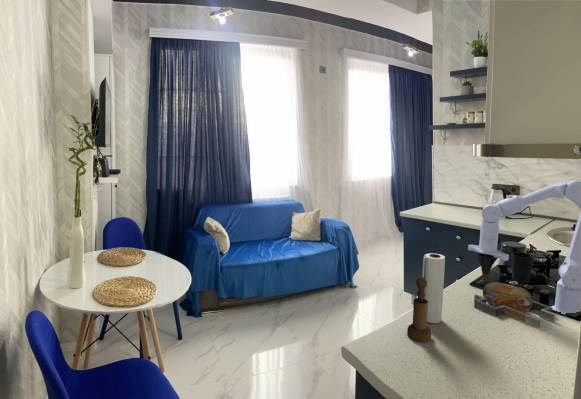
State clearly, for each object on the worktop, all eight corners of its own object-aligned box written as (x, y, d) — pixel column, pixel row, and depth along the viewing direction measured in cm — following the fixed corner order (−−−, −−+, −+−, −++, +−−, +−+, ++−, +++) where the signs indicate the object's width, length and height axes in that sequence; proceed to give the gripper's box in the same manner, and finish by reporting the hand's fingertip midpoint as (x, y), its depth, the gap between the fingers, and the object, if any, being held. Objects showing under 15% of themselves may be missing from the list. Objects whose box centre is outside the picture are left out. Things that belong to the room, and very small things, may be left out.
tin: (481, 303, 134) (483, 280, 133) (484, 300, 137) (486, 278, 135) (530, 317, 124) (532, 292, 122) (532, 313, 126) (535, 289, 125)
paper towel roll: (438, 315, 125) (442, 252, 122) (443, 324, 119) (447, 258, 116) (415, 314, 126) (418, 252, 122) (420, 323, 120) (423, 258, 116)
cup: (534, 288, 147) (537, 258, 145) (513, 287, 148) (515, 257, 146) (526, 281, 154) (529, 252, 152) (506, 279, 156) (508, 251, 154)
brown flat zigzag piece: (497, 294, 142) (497, 288, 141) (561, 318, 122) (562, 311, 122) (466, 303, 134) (467, 297, 133) (530, 331, 114) (531, 323, 114)
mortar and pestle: (434, 336, 112) (437, 277, 109) (425, 344, 107) (428, 284, 105) (413, 328, 117) (415, 272, 114) (403, 336, 112) (405, 278, 109)
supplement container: (530, 275, 161) (533, 247, 159) (505, 275, 161) (508, 247, 160) (516, 266, 172) (519, 240, 170) (493, 266, 172) (495, 240, 170)
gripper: (463, 234, 140) (460, 269, 143) (501, 244, 128) (497, 282, 130) (476, 232, 144) (473, 266, 146) (513, 241, 131) (510, 279, 133)
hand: (485, 274), depth 138 cm, fingers closed
